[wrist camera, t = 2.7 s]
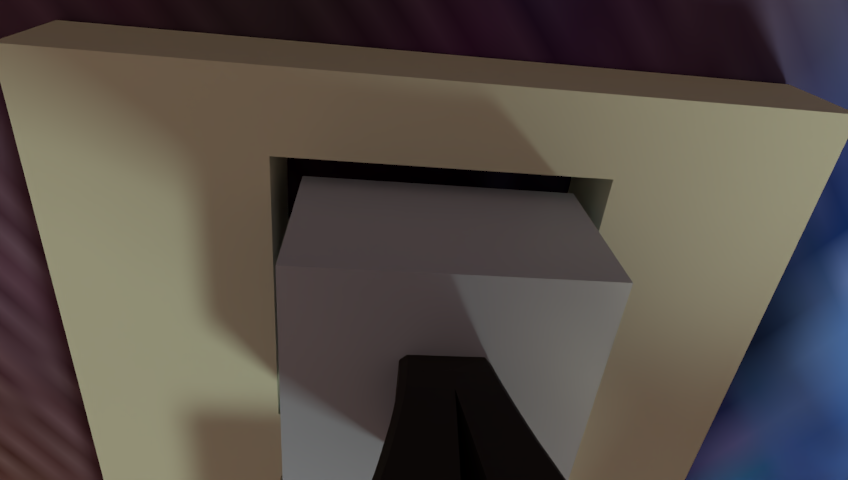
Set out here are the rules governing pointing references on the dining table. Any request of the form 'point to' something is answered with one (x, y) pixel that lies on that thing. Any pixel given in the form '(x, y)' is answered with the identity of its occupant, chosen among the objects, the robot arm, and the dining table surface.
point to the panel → (397, 145)
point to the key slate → (436, 310)
